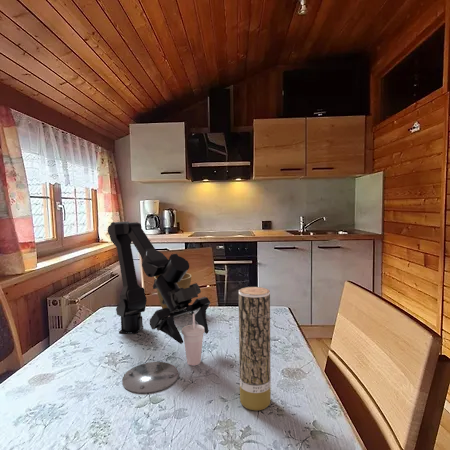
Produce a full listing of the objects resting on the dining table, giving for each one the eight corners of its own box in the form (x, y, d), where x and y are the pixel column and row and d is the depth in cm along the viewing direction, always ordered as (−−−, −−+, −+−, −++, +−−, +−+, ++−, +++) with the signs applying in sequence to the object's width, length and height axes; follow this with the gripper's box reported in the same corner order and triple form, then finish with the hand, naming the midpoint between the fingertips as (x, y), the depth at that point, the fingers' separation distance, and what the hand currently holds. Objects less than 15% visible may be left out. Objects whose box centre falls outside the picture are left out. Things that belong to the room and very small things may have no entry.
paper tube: (273, 396, 71) (272, 288, 69) (267, 415, 64) (266, 296, 63) (244, 391, 73) (243, 286, 72) (236, 408, 66) (234, 293, 65)
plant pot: (148, 318, 122) (147, 278, 122) (166, 307, 137) (165, 271, 136) (182, 322, 118) (181, 280, 117) (197, 310, 132) (197, 273, 131)
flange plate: (111, 391, 74) (111, 388, 74) (136, 362, 87) (136, 359, 87) (168, 395, 72) (168, 392, 72) (185, 365, 85) (184, 362, 85)
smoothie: (187, 370, 83) (186, 318, 82) (179, 360, 88) (178, 311, 88) (209, 364, 86) (208, 314, 85) (199, 354, 91) (199, 308, 91)
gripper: (154, 281, 82) (180, 333, 75) (205, 270, 96) (232, 313, 89) (139, 304, 88) (162, 354, 81) (190, 291, 102) (214, 333, 94)
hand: (195, 337), depth 86 cm, fingers open, 9 cm apart
